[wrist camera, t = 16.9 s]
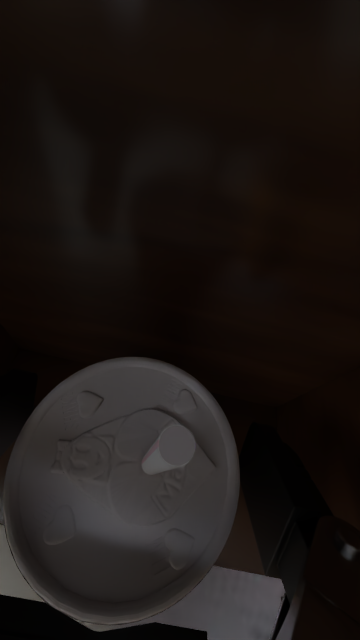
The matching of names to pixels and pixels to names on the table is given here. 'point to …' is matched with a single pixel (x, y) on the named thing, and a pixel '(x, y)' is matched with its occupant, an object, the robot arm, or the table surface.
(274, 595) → the table surface
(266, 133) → the cupboard
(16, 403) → the robot arm
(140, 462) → the smoothie
